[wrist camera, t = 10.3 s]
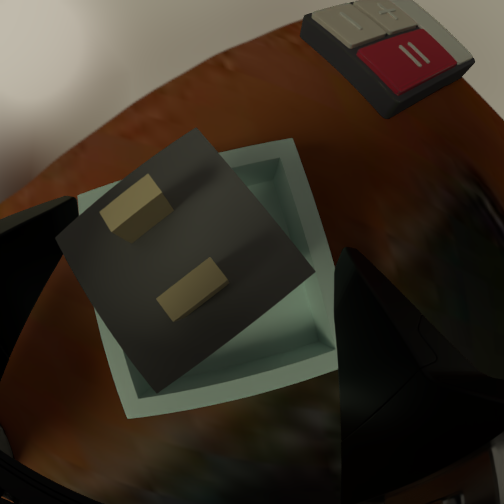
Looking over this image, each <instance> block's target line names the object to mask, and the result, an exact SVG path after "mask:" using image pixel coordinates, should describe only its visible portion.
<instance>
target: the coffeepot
mask: <svg viewBox="0 0 504 504" xmlns="http://www.w3.org/2000/svg"><path fill="white" fill-rule="evenodd" d="M0 450H1V451H3V452H4V453H6V454H7V455H9V456H10V457H12V458H13V454H12V450H11V447H10V444H9V442H8V439H7V437H6V435H5V433H4V431H3V429H2V427H1V425H0Z"/></svg>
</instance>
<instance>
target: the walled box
mask: <svg viewBox="0 0 504 504" xmlns="http://www.w3.org/2000/svg"><path fill="white" fill-rule="evenodd" d="M219 154H220V155H221V157H222V158H223V159H224V160H225V161H226V162H227V164H228V165H229V166H230V167H231V168H232V169H233V171H234V172H235V173H236V174H237V175H238V177H239V178H240V179H241V180H242V181H243V183H244V184H245V185H246V186H247V187H248V188H249V190H250V191H251V192H252V193H253V194H254V196H255V197H256V198H257V199H258V201H259V202H260V203H261V204H262V205H263V207H264V208H265V209H266V210H267V211H268V213H269V214H270V215H271V216H272V218H273V219H274V220H275V221H276V222H277V224H278V225H279V226H280V227H281V229H282V230H283V231H284V232H285V234H286V235H287V236H288V237H289V239H290V240H291V241H292V242H293V244H294V245H295V246H296V247H297V249H298V250H299V251H300V252H301V254H302V255H303V256H304V257H305V259H306V260H307V261H308V262H309V264H310V265H311V266H312V267H313V269H314V270H315V271H316V272H315V273H314V274H312V275H311V276H310V277H309V278H308V279H306V280H305V281H304V282H303V283H302V284H300V285H299V286H298V287H297V288H296V289H294V290H293V291H292V292H291V293H289V294H288V295H287V296H286V297H285V298H283V299H282V300H281V301H280V302H278V303H277V304H276V305H275V306H273V307H272V308H271V309H270V310H268V311H267V312H266V313H265V314H263V315H262V316H261V317H260V318H258V319H257V320H256V321H254V322H253V323H252V324H251V325H249V326H248V327H247V328H245V329H244V330H243V331H242V332H240V333H239V334H238V335H236V336H235V337H234V338H232V339H231V340H230V341H228V342H227V343H226V344H225V345H223V346H222V347H221V348H219V349H218V350H217V351H215V352H214V353H213V354H211V355H210V356H209V357H207V358H206V359H204V360H203V361H202V362H200V363H199V364H198V365H196V366H195V367H194V368H192V369H191V370H189V371H188V372H187V373H185V374H184V375H183V376H181V377H180V378H178V379H177V380H176V381H174V382H173V383H171V384H170V385H168V386H167V387H166V388H164V389H163V390H161V391H160V392H159V393H156V392H155V391H154V390H153V389H152V387H151V386H150V385H149V384H148V382H147V381H146V380H145V379H144V377H143V376H142V375H141V374H140V372H139V371H138V370H137V368H136V367H135V366H134V364H133V363H132V362H131V360H130V359H129V358H128V356H127V355H126V354H125V352H124V351H123V349H122V348H121V347H120V345H119V344H118V342H117V341H116V340H115V338H114V337H113V335H112V334H111V332H110V331H109V329H108V328H107V326H106V325H105V323H104V322H103V320H102V319H101V317H100V316H99V314H98V313H97V311H96V310H95V314H96V318H97V322H98V326H99V330H100V334H101V338H102V342H103V346H104V349H105V353H106V356H107V360H108V363H109V366H110V370H111V373H112V376H113V379H114V382H115V385H116V388H117V391H118V394H119V397H120V400H121V403H122V406H123V408H124V411H125V414H126V416H127V419H130V418H138V417H146V416H153V415H160V414H166V413H173V412H178V411H184V410H190V409H195V408H200V407H205V406H210V405H215V404H219V403H224V402H228V401H232V400H236V399H241V398H245V397H249V396H252V395H256V394H260V393H264V392H267V391H271V390H275V389H278V388H281V387H285V386H288V385H291V384H295V383H298V382H301V381H304V380H307V379H310V378H313V377H316V376H319V375H322V374H325V373H328V372H331V371H334V370H337V369H338V359H337V346H336V335H335V324H334V271H335V266H334V263H333V259H332V256H331V252H330V249H329V246H328V242H327V239H326V236H325V232H324V229H323V226H322V223H321V219H320V216H319V213H318V210H317V207H316V204H315V201H314V198H313V195H312V192H311V189H310V186H309V183H308V180H307V177H306V174H305V171H304V168H303V166H302V163H301V160H300V157H299V154H298V152H297V149H296V146H295V143H294V141H293V138H289V139H284V140H278V141H273V142H268V143H263V144H258V145H253V146H248V147H243V148H239V149H234V150H230V151H225V152H221V153H219ZM120 181H121V180H120ZM120 181H117V182H114V183H111V184H108V185H105V186H102V187H100V188H97V189H94V190H91V191H88V192H86V193H83V194H80V195H78V206H79V215H80V214H82V213H83V212H84V211H85V210H86V209H87V208H88V207H90V206H91V205H92V204H93V203H94V202H96V201H97V200H98V199H99V198H100V197H102V196H103V195H104V194H105V193H106V192H108V191H109V190H110V189H111V188H113V187H114V186H115V185H116V184H118V183H119V182H120ZM94 309H95V308H94Z"/></svg>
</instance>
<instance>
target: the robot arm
mask: <svg viewBox="0 0 504 504" xmlns="http://www.w3.org/2000/svg"><path fill="white" fill-rule="evenodd" d="M78 216H79V213H78V205H77V200H76V198H75V197H70V196H64V197H60V198H57V199H54V200H52V201H49V202H46V203H43V204H40V205H37V206H34V207H32V208H29V209H26V210H23V211H21V212H18V213H16V214H13V215H10V216H8V217H5V218H3V219H0V381H1V378H2V376H3V373H4V370H5V368H6V365H7V363H8V361H9V357H10V355H11V353H12V351H13V349H14V346H15V344H16V342H17V340H18V337H19V335H20V333H21V331H22V329H23V327H24V325H25V323H26V321H27V319H28V317H29V315H30V313H31V311H32V309H33V307H34V305H35V303H36V301H37V299H38V297H39V296H40V294H41V292H42V290H43V288H44V286H45V285H46V283H47V281H48V279H49V278H50V276H51V274H52V272H53V271H54V269H55V267H56V266H57V264H58V262H59V261H60V259H61V257H62V255H63V253H62V251H61V249H60V247H59V245H58V243H57V241H56V239H55V237H56V236H57V235H59V234H60V233H61V232H62V231H63V230H64V229H65V228H66V227H67V226H68V225H69V224H70V223H72V222H73V221H74V220H75V219H76V218H77V217H78ZM334 324H335V335H336V346H337V359H338V373H339V390H340V411H341V440H342V442H341V459H342V474H341V504H383V503H384V504H504V380H502V379H496V378H492V377H489V376H487V375H485V374H483V373H481V372H480V371H479V370H478V369H476V368H475V367H474V366H473V365H472V364H471V363H470V362H469V361H468V360H467V359H466V358H465V357H464V356H463V355H462V354H461V353H460V352H459V351H458V350H457V349H456V348H455V347H454V346H453V345H452V344H451V343H450V342H449V341H448V340H447V339H446V338H445V337H444V336H443V335H442V334H441V333H440V332H439V331H438V330H437V329H436V328H435V327H434V326H433V325H432V324H431V323H430V322H429V321H428V320H427V319H426V318H425V316H424V315H421V312H420V311H419V310H418V309H417V308H416V307H415V306H414V305H413V304H412V303H411V302H410V301H409V300H408V299H407V298H406V297H405V296H404V295H403V294H402V293H401V292H400V291H399V290H398V289H397V288H396V287H395V286H394V285H393V284H392V283H391V282H390V281H389V280H388V279H387V278H386V277H385V276H384V275H383V274H382V273H381V272H380V271H379V270H378V269H377V268H376V267H375V266H374V265H373V264H372V263H371V262H370V261H369V260H368V259H367V258H366V257H365V256H364V255H363V254H361V253H360V252H359V251H358V250H357V249H355V248H350V247H345V248H343V250H342V252H341V255H340V257H339V259H338V262H337V264H336V267H335V271H334ZM1 496H3V497H5V498H7V499H9V500H11V501H13V502H14V503H12V502H10V501H8V500H6V499H3V498H1ZM0 504H103V503H101V502H98V501H96V500H93V499H91V498H88V497H86V496H84V495H81V494H79V493H77V492H75V491H72V490H70V489H68V488H66V487H64V486H62V485H60V484H58V483H56V482H54V481H52V480H50V479H48V478H46V477H44V476H42V475H41V474H39V473H37V472H35V471H33V470H32V469H30V468H28V467H27V466H25V465H23V464H22V463H20V462H18V461H17V460H15V459H14V458H12V457H10V456H9V455H7V454H6V453H4V452H3V451H1V450H0Z"/></svg>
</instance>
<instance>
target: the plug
mask: <svg viewBox="0 0 504 504" xmlns="http://www.w3.org/2000/svg"><path fill="white" fill-rule="evenodd" d="M55 239H56V241H57V243H58V245H59V247H60V249H61V251H62V253H63V254H64V256H65V258H66V260H67V262H68V264H69V266H70V267H71V269H72V271H73V273H74V275H75V276H76V278H77V280H78V282H79V283H80V285H81V287H82V288H83V290H84V292H85V293H86V295H87V297H88V298H89V300H90V302H91V303H92V305H93V306H94V308H95V310H96V311H97V313H98V314H99V316H100V317H101V319H102V320H103V322H104V323H105V325H106V326H107V328H108V329H109V331H110V332H111V334H112V335H113V337H114V338H115V340H116V341H117V342H118V344H119V345H120V347H121V348H122V349H123V351H124V352H125V354H126V355H127V356H128V358H129V359H130V360H131V362H132V363H133V364H134V366H135V367H136V368H137V370H138V371H139V372H140V374H141V375H142V376H143V377H144V379H145V380H146V381H147V382H148V384H149V385H150V386H151V387H152V389H153V390H154V391H155V392H156V393H159V392H160V391H161V390H163V389H164V388H166V387H167V386H168V385H170V384H171V383H173V382H174V381H176V380H177V379H178V378H180V377H181V376H183V375H184V374H185V373H187V372H188V371H189V370H191V369H192V368H194V367H195V366H196V365H198V364H199V363H200V362H202V361H203V360H204V359H206V358H207V357H209V356H210V355H211V354H213V353H214V352H215V351H217V350H218V349H219V348H221V347H222V346H223V345H225V344H226V343H227V342H228V341H230V340H231V339H232V338H234V337H235V336H236V335H238V334H239V333H240V332H242V331H243V330H244V329H245V328H247V327H248V326H249V325H251V324H252V323H253V322H254V321H256V320H257V319H258V318H260V317H261V316H262V315H263V314H265V313H266V312H267V311H268V310H270V309H271V308H272V307H273V306H275V305H276V304H277V303H278V302H280V301H281V300H282V299H283V298H285V297H286V296H287V295H288V294H289V293H291V292H292V291H293V290H294V289H296V288H297V287H298V286H299V285H300V284H302V283H303V282H304V281H305V280H306V279H308V278H309V277H310V276H311V275H312V274H314V273H315V272H316V271H315V270H314V269H313V267H312V266H311V265H310V264H309V262H308V261H307V260H306V259H305V257H304V256H303V255H302V254H301V252H300V251H299V250H298V249H297V247H296V246H295V245H294V244H293V242H292V241H291V240H290V239H289V237H288V236H287V235H286V234H285V232H284V231H283V230H282V229H281V227H280V226H279V225H278V224H277V222H276V221H275V220H274V219H273V218H272V216H271V215H270V214H269V213H268V211H267V210H266V209H265V208H264V207H263V205H262V204H261V203H260V202H259V201H258V199H257V198H256V197H255V196H254V194H253V193H252V192H251V191H250V190H249V188H248V187H247V186H246V185H245V184H244V183H243V181H242V180H241V179H240V178H239V177H238V175H237V174H236V173H235V172H234V171H233V169H232V168H231V167H230V166H229V165H228V164H227V162H226V161H225V160H224V159H223V158H222V157H221V155H220V154H219V153H218V152H217V151H216V150H215V148H214V147H213V146H212V145H211V144H210V143H209V142H208V140H207V139H206V138H205V137H204V136H203V135H202V133H201V132H200V131H199V130H198V129H197V128H194V129H193V130H191V131H190V132H188V133H187V134H185V135H184V136H182V137H181V138H179V139H178V140H176V141H175V142H173V143H172V144H170V145H169V146H167V147H166V148H165V149H163V150H162V151H160V152H159V153H158V154H156V155H155V156H153V157H152V158H151V159H149V160H148V161H146V162H145V163H144V164H142V165H141V166H140V167H138V168H137V169H136V170H134V171H133V172H132V173H130V174H129V175H128V176H127V177H125V178H124V179H123V180H121V181H120V182H119V183H118V184H116V185H115V186H114V187H113V188H111V189H110V190H109V191H108V192H106V193H105V194H104V195H103V196H102V197H100V198H99V199H98V200H97V201H96V202H94V203H93V204H92V205H91V206H90V207H88V208H87V209H86V210H85V211H84V212H83V213H82V214H80V215H79V216H78V217H77V218H76V219H75V220H74V221H73V222H72V223H70V224H69V225H68V226H67V227H66V228H65V229H64V230H63V231H62V232H61V233H60V234H59V235H57V236H56V237H55Z"/></svg>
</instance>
